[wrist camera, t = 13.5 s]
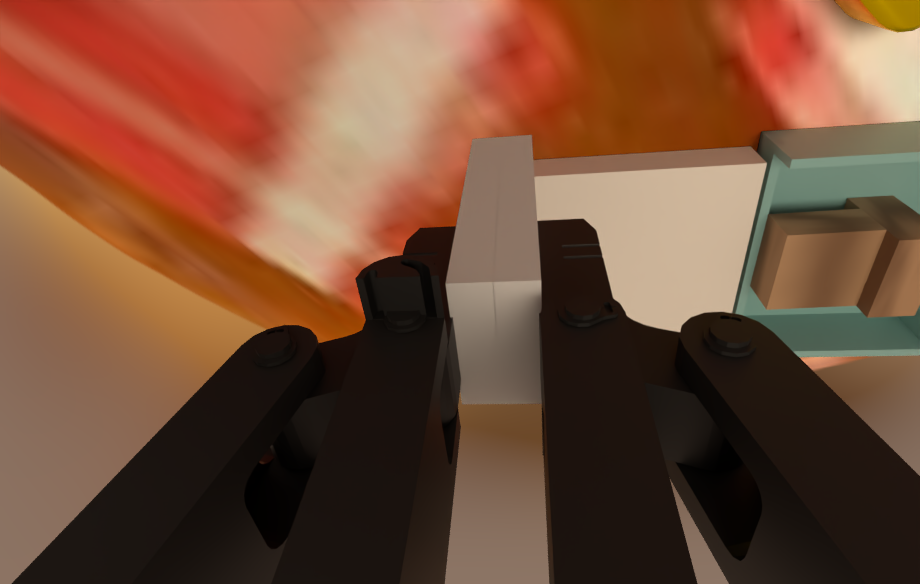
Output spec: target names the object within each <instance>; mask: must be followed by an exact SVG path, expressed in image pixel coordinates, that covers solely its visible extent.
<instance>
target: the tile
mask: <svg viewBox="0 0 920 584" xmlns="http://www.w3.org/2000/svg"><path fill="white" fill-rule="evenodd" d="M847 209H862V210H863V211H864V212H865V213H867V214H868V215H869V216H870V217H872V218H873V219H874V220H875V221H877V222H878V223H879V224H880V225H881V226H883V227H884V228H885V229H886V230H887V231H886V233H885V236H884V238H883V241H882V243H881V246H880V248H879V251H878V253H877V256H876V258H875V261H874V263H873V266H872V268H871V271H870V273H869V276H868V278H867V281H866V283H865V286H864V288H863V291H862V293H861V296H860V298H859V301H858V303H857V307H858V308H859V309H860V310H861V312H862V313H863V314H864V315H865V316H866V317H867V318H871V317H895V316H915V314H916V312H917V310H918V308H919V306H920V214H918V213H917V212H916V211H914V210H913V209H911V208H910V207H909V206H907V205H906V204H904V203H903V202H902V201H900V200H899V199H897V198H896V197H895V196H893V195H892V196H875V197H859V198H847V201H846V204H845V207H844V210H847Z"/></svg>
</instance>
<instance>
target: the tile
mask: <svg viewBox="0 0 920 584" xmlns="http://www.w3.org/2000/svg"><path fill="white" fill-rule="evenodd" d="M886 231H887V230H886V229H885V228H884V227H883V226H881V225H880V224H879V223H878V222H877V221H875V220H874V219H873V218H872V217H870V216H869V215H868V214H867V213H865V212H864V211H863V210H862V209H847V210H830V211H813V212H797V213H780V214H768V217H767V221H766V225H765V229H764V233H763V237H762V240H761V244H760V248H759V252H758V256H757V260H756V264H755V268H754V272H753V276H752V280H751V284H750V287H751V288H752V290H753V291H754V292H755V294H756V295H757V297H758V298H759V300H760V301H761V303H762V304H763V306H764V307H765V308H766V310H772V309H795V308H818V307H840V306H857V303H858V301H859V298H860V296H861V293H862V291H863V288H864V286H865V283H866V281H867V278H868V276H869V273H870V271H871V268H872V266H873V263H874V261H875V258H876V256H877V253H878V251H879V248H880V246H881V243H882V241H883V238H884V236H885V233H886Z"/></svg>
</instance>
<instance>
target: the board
mask: <svg viewBox="0 0 920 584" xmlns="http://www.w3.org/2000/svg"><path fill="white" fill-rule="evenodd" d="M533 164H534V179H535V194H536V209H537V221H542V220H563V219H584V220H586V221H587V222H588V223H589V224H590V225H591V226H592V227H594V228H595V229H596V231H597V235H598V239H599V243H600V247H601V251H602V258H603V259H604V263H605V267H606V271H607V275H608V279H609V283H610V288H611V292H612V296H613V299H615V300H616V301H618V302H619V303H620V304H621V306H622V307H623V309H624V311H625V312H626V316H628V317H629V318H631V319H632V320H634V321H637V322H639V323H641V324H644V325H647V326H651V327H655V328H660V329H665V330H670V331H676V332H680V331H681V326H682V325H683V324H684V323H685V322H686V321H687V320H688V319H689V318H690V317H693V316H696V315H699V314H702V313H705V312H728V313H732V311H733V306H734V302H735V298H736V293H737V289H738V285H739V281H740V276H741V272H742V268H743V264H744V259H745V255H746V251H747V247H748V242H749V238H750V234H751V229H752V225H753V221H754V217H755V212H756V208H757V204H758V200H759V195H760V191H761V187H762V182H763V178H764V174H765V170H766V165H767V162H766V161H765V160H764V159H763V158H762V157H761V156H760V155H759V154H758V153H757V152H756V151H755V150H754V149H753V148H752V147H751V146H748V147H732V148H716V149H700V150H684V151H668V152H652V153H636V154H620V155H604V156H588V157H572V158H556V159H540V160H533Z"/></svg>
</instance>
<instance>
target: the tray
mask: <svg viewBox="0 0 920 584" xmlns="http://www.w3.org/2000/svg"><path fill="white" fill-rule="evenodd" d="M757 153H758V154H759V155H760V156H761V157H762V158H763V159H764V160H765V161H766V162H767V165H766V170H765V174H764V178H763V182H762V187H761V191H760V195H759V200H758V204H757V208H756V212H755V217H754V221H753V225H752V229H751V234H750V238H749V242H748V247H747V251H746V255H745V259H744V264H743V268H742V272H741V276H740V281H739V285H738V289H737V293H736V298H735V302H734V306H733V311H732V313H734V314H740V315H743V316H746V317H748V318H751V319H753V320H756V321H758V322H760V323H761V324H763V325H764V326H766V327H767V328H768V329H770V330H771V331H773V332H774V333H775V334H776V335H777V336H778V337H779V338H780V339H781V340H782V341H783V342H784V343H785V344H786V345H787V346H788V347H789V348H790V349H791V350H792V351H793V352H794V353H795V354H796V355H797V356H798V357H843V356H901V355H902V356H904V355H920V306H919V308H918V310H917V312H916V314H915V316H895V317H871V318H867V317H866V316H865V315H864V314H863V313H862V312H861V310H860V309H859V308H858V307H857V306H840V307H818V308H795V309H772V310H766V308H765V307H764V306H763V304H762V303H761V301H760V300H759V298H758V297H757V295H756V294H755V292H754V291H753V290H752V288H751V287H750V284H751V280H752V276H753V272H754V268H755V264H756V260H757V256H758V252H759V248H760V244H761V240H762V237H763V233H764V229H765V225H766V221H767V217H768V214H780V213H797V212H813V211H830V210H844V207H845V204H846V201H847V198H859V197H875V196H892V195H893V196H895V197H896V198H897V199H899V200H900V201H902V202H903V203H904V204H906V205H907V206H909V207H910V208H911V209H913V210H914V211H916V212H917V213H918V214H920V121H915V122H899V123H884V124H869V125H854V126H838V127H823V128H808V129H793V130H777V131H762V132H761V136H760V141H759V145H758V150H757Z"/></svg>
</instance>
